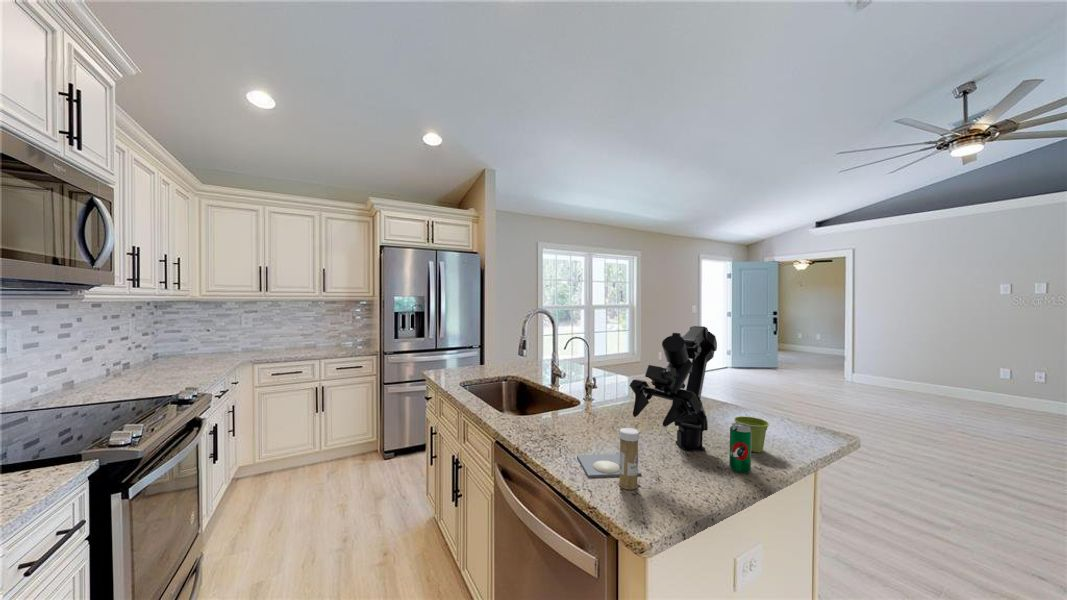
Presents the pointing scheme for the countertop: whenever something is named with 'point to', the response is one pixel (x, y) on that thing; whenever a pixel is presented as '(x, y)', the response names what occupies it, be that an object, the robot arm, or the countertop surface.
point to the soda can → (740, 448)
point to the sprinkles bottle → (628, 458)
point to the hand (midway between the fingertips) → (648, 420)
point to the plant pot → (755, 431)
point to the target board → (601, 465)
